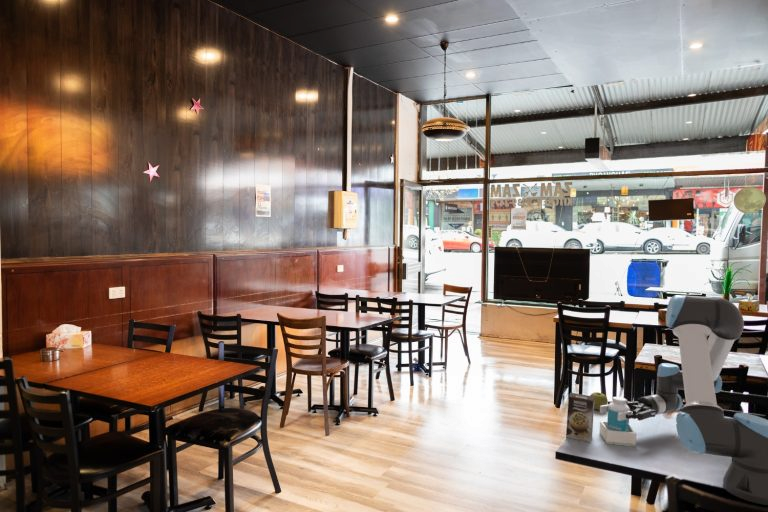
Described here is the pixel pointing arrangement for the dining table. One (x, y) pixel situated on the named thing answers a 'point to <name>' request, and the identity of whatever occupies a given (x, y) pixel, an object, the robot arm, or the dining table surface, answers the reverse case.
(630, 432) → the holder
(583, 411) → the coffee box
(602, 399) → the apple
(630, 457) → the dining table surface
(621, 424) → the pill bottle
